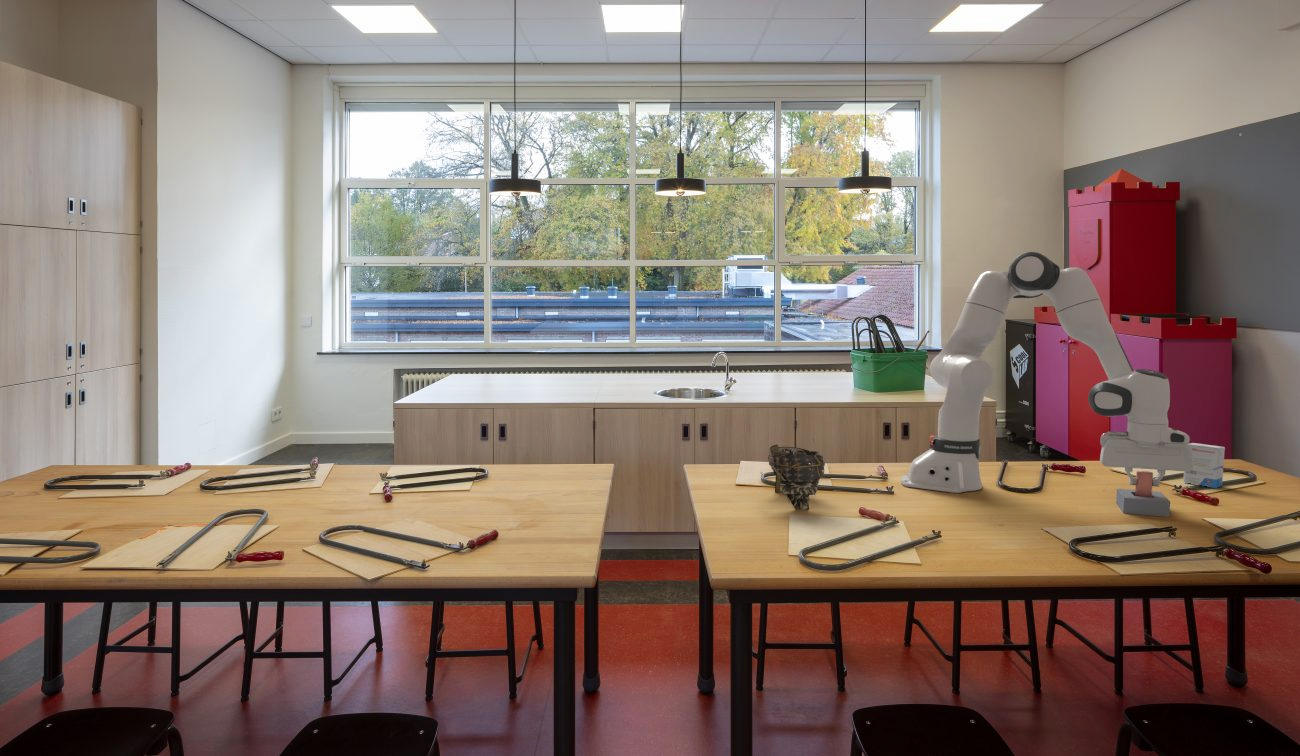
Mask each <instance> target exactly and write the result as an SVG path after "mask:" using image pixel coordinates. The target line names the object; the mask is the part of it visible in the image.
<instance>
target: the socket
mask: <svg viewBox="0 0 1300 756" xmlns="http://www.w3.org/2000/svg"><path fill="white" fill-rule="evenodd" d="M1115 504H1116V505H1117V506H1118V507H1119V509H1120V511H1121V512H1122V513H1123V514H1132V515H1140V516H1143V515H1144V516H1154V517H1155V516H1156V517H1165V518H1170V511H1171V510H1170V509H1171V501H1170V499H1168V497H1166V495H1165V494H1164V493H1162V491H1158V490H1157V491H1153V490H1152V497H1139V496H1135V489H1129V488H1116V498H1115Z"/></svg>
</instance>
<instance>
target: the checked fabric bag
mask: <svg viewBox="0 0 1300 756" xmlns="http://www.w3.org/2000/svg"><path fill="white" fill-rule="evenodd" d="M767 460H768V465H769V466H770V468H771V470H772V471H773V472H772V473H773V474H774V475H775V481H774V482H775V483H774V484H775V485H774V493H778V492H780V494H782V495H786V496H787V499H788V500H789V501H790V503H791V505H792V507H793V509H794V510H795V511H801V510H803V511H804V510H810V496H815V495H816V494H817V493H818V492H817V491H818V487H819V483H820V479H821V478H822V477H823V476H824V475H825V466H826V462H825V460H824V457H823V455H821V453H820V452H819V451H815V450H811V451H810V450H808V449H805V448H800V447H795V446H779V444H774V445H771V446H770V447H769V454H768V459H767Z"/></svg>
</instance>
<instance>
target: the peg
mask: <svg viewBox="0 0 1300 756" xmlns="http://www.w3.org/2000/svg"><path fill="white" fill-rule="evenodd" d="M1135 475H1136V476H1135V477H1136V478H1137V482H1136V483H1137V485H1135V489H1134V490H1135V496H1139V497H1152V491H1153V486H1152V481H1153V477H1154V473H1153V472H1151V471H1147V470H1137V471H1136V474H1135Z"/></svg>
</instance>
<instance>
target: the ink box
mask: <svg viewBox="0 0 1300 756" xmlns="http://www.w3.org/2000/svg"><path fill="white" fill-rule="evenodd" d="M1187 444H1188V445H1189V446H1190V447H1191V448H1192V452H1193V468H1192V469H1191V470H1190V471H1183V482H1185V483H1184V484H1187V483H1191V484H1190V485H1193V484H1197V485H1196V486H1199V485H1202V486H1201V487H1204V486H1207V487H1206V488H1212V489H1218V488H1219V487H1223V477H1224V476H1223V475H1224V464H1225V451H1226V447H1225V446H1219V445H1212V444H1211V445H1210V444H1204V443H1196V442H1189V443H1187ZM1183 482H1182V483H1183Z"/></svg>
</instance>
